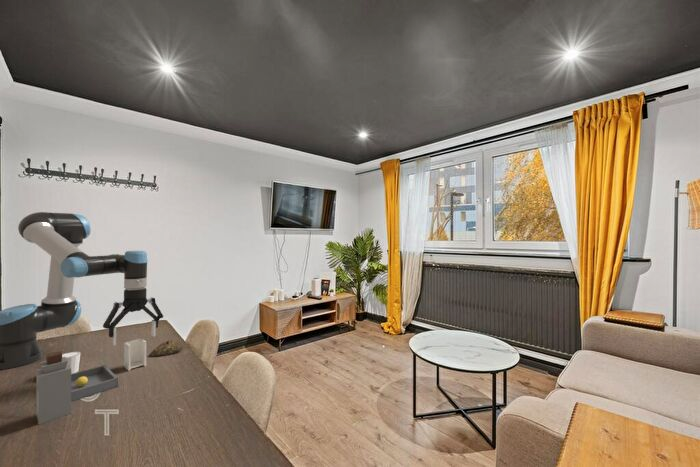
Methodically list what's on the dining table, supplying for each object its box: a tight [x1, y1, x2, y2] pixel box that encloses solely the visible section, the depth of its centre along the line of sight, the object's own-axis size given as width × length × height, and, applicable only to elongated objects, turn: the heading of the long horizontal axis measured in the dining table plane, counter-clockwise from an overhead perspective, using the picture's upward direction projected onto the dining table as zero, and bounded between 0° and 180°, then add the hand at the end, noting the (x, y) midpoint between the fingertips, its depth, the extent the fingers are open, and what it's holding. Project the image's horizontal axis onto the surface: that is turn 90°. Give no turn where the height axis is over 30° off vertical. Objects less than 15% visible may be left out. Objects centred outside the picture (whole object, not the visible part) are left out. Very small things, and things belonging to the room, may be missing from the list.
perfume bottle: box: [35, 350, 72, 425], centre depth 89 cm, size 7×7×18 cm
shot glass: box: [62, 351, 81, 374], centre depth 116 cm, size 7×7×7 cm
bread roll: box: [150, 339, 184, 357], centre depth 138 cm, size 13×12×5 cm
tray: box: [71, 364, 119, 403], centre depth 104 cm, size 18×16×3 cm
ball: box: [76, 376, 88, 387], centre depth 104 cm, size 3×3×3 cm
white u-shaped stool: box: [123, 337, 147, 372], centre depth 121 cm, size 6×6×10 cm
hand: (134, 340), depth 121 cm, fingers open, 13 cm apart
